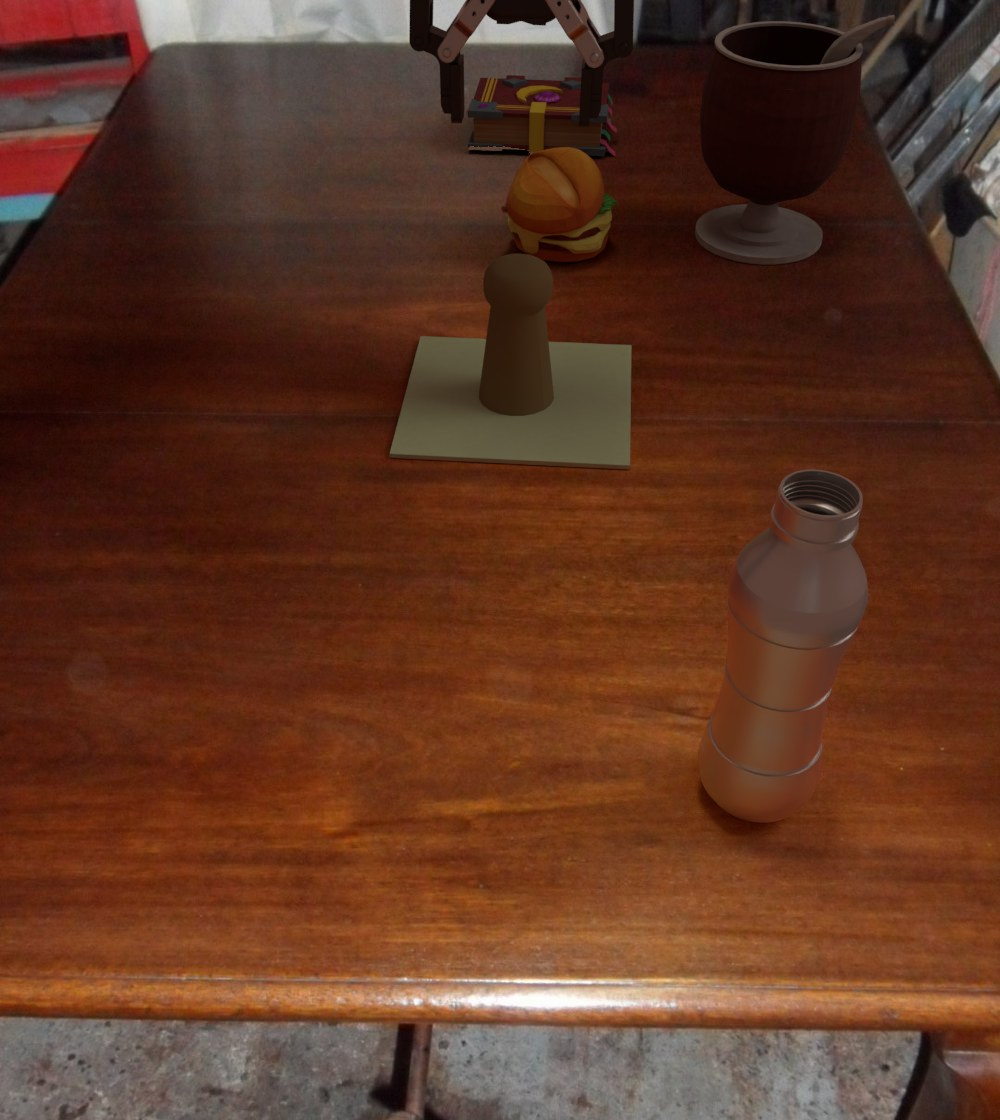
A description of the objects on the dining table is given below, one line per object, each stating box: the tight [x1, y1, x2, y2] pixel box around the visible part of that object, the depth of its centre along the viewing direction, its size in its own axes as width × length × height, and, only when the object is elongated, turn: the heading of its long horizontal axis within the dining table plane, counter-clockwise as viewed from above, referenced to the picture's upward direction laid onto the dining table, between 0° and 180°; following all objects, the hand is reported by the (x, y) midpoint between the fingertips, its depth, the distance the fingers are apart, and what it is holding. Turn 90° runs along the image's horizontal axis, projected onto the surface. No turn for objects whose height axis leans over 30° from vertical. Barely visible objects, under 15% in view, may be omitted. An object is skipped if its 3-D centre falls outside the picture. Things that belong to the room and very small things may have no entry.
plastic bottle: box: [697, 468, 869, 824], centre depth 59 cm, size 6×7×20 cm
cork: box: [479, 253, 554, 416], centre depth 91 cm, size 6×6×11 cm
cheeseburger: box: [500, 147, 619, 263], centre depth 111 cm, size 10×11×10 cm
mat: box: [389, 335, 633, 471], centre depth 95 cm, size 18×18×1 cm
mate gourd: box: [694, 14, 896, 266], centre depth 109 cm, size 16×14×20 cm
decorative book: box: [466, 74, 618, 157], centre depth 132 cm, size 11×16×5 cm
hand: (520, 121), depth 80 cm, fingers open, 8 cm apart
